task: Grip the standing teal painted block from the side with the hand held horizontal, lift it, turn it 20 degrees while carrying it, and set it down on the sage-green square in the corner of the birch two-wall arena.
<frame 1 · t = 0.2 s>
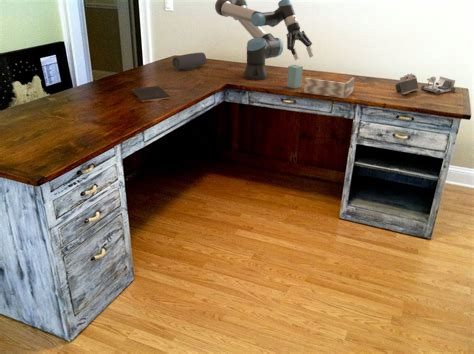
hand: (304, 58, 261), 15 cm above the table, tool tilted 35°, fingers open, 13 cm apart
arena: (327, 92, 248), on the table
teal block: (294, 86, 259), on the table
camera: (404, 92, 251), on the table
bluetooth speaker: (189, 69, 298), on the table
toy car: (435, 92, 253), on the table
hardcover book: (150, 97, 240), on the table
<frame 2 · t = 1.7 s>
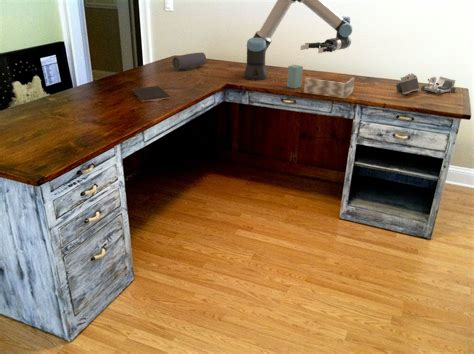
hand: (309, 49, 257), 20 cm above the table, tool horizontal, fingers open, 13 cm apart
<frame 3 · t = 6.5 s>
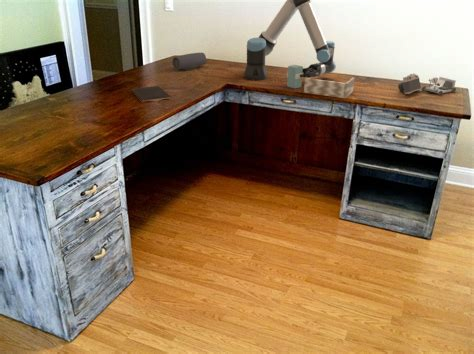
hand: (291, 75, 254), 7 cm above the table, tool horizontal, fingers closed on teal block, 6 cm apart
teal block: (294, 86, 259), on the table, touching gripper
camera: (407, 92, 251), on the table
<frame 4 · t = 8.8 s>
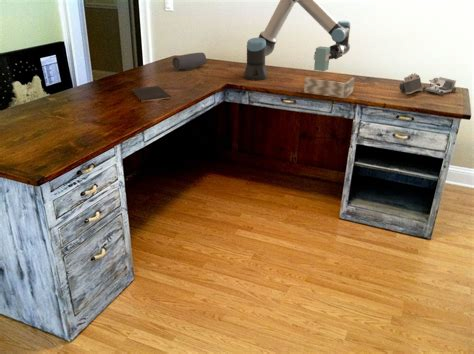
hand: (320, 57, 240), 19 cm above the table, tool horizontal, fingers closed on teal block, 6 cm apart
teal block: (321, 69, 245), point 12 cm above the table, touching gripper
when the fingers open (9 cm above the table, at t = 11.4 s): teal block drops 1 cm, resting on arena.
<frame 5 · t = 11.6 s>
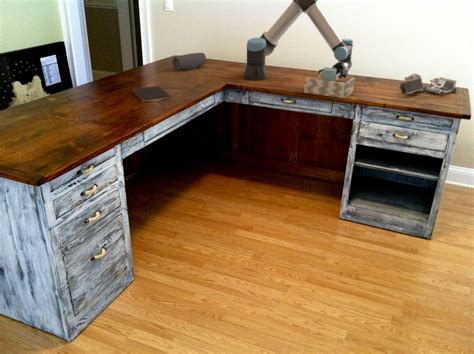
hand: (328, 76, 242), 9 cm above the table, tool horizontal, fingers open, 9 cm apart
teal block: (327, 90, 248), point 1 cm above the table, touching arena
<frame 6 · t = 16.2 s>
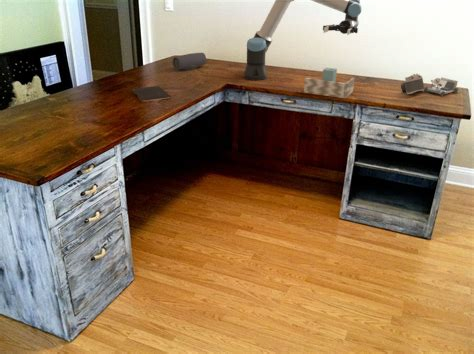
hand: (336, 31, 244), 32 cm above the table, tool horizontal, fingers open, 13 cm apart
at the end: teal block inside the target area on the arena (0.1 cm from its centre), point 1.2 cm above the arena's base; teal block tilted 0°; the gripper is holding nothing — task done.
